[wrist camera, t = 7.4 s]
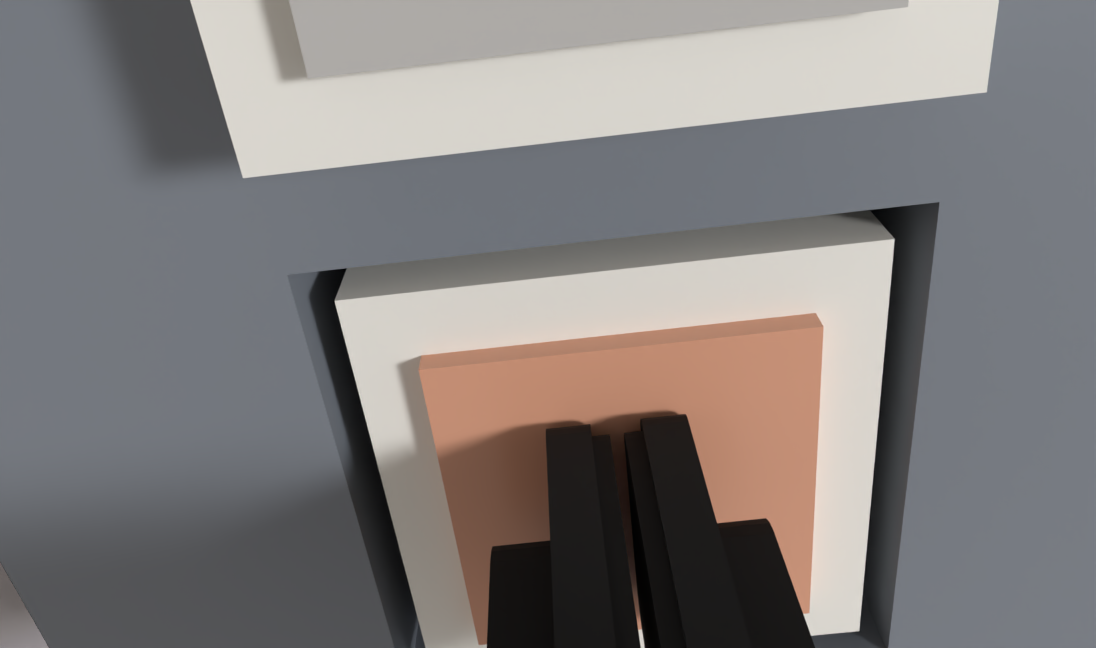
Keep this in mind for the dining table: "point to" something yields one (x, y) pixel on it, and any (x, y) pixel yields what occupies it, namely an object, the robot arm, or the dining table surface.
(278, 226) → the keypad
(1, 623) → the dining table surface
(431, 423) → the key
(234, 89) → the middle key
